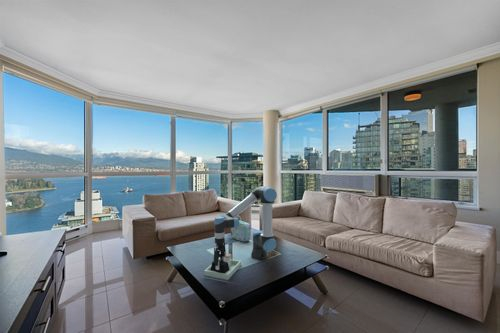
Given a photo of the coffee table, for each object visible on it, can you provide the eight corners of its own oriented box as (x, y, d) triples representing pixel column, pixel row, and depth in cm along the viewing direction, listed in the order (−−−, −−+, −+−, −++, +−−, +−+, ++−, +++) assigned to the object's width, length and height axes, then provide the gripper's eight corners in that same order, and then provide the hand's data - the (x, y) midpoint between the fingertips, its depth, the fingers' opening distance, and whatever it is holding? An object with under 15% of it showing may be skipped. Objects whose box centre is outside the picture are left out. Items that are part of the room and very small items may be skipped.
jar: (233, 264, 175) (232, 254, 175) (229, 268, 169) (229, 257, 169) (226, 263, 177) (225, 253, 177) (222, 267, 171) (222, 256, 171)
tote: (241, 266, 174) (241, 260, 174) (227, 281, 152) (227, 275, 152) (220, 262, 181) (220, 257, 181) (204, 276, 159) (204, 270, 159)
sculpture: (223, 274, 155) (223, 254, 154) (209, 270, 162) (209, 250, 162) (230, 270, 161) (229, 250, 161) (216, 265, 168) (216, 247, 168)
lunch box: (229, 237, 244) (228, 219, 244) (235, 235, 251) (235, 217, 251) (244, 243, 225) (244, 223, 225) (251, 241, 232) (251, 221, 232)
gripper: (221, 232, 172) (222, 260, 172) (208, 241, 153) (208, 272, 153) (230, 233, 169) (230, 262, 169) (217, 242, 151) (217, 274, 151)
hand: (220, 267), depth 161 cm, fingers closed on sculpture, 7 cm apart
